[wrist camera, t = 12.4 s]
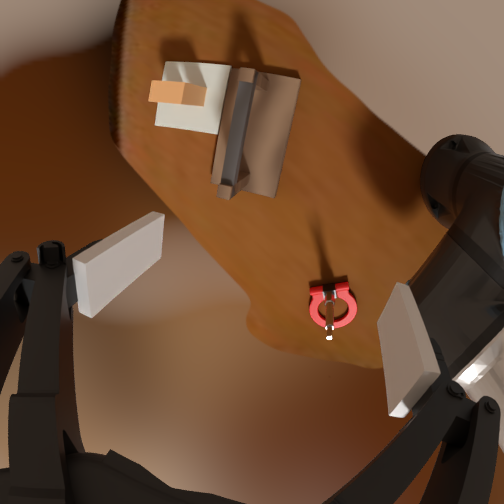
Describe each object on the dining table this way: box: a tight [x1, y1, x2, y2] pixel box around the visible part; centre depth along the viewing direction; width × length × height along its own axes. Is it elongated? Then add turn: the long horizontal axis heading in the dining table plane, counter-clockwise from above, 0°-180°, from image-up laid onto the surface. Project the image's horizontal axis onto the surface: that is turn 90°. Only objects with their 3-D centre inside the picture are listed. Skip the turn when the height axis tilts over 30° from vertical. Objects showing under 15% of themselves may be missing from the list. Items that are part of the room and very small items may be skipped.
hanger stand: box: [211, 67, 301, 200], centre depth 37 cm, size 10×18×12 cm, turn 169°
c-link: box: [149, 80, 207, 107], centre depth 38 cm, size 5×3×8 cm, turn 79°
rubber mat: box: [155, 61, 232, 134], centre depth 41 cm, size 11×11×1 cm
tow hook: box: [309, 282, 357, 340], centre depth 46 cm, size 8×13×9 cm
